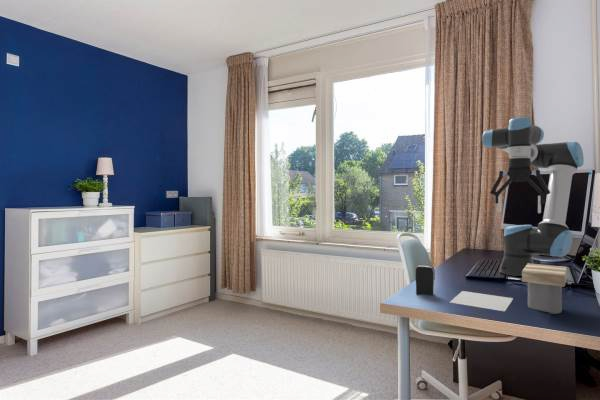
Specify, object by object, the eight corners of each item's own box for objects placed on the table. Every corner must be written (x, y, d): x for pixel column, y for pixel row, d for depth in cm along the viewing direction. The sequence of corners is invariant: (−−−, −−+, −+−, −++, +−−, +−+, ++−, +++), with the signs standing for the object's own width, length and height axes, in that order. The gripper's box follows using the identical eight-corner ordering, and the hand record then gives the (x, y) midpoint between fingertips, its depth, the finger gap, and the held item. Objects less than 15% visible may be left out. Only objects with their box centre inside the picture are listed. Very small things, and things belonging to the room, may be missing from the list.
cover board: (527, 272, 145) (527, 263, 145) (566, 276, 138) (566, 266, 138) (521, 281, 132) (521, 271, 132) (564, 286, 125) (564, 275, 125)
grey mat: (462, 292, 155) (462, 290, 155) (513, 299, 145) (513, 298, 145) (449, 303, 141) (449, 302, 141) (504, 313, 130) (504, 311, 130)
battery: (435, 294, 153) (435, 265, 152) (433, 297, 150) (433, 267, 149) (417, 292, 157) (417, 264, 156) (415, 294, 153) (415, 265, 153)
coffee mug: (564, 315, 127) (564, 284, 127) (529, 311, 132) (529, 282, 131) (557, 303, 140) (557, 276, 139) (525, 300, 144) (525, 273, 143)
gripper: (482, 159, 157) (482, 212, 157) (557, 155, 142) (556, 214, 142) (486, 159, 163) (486, 210, 163) (558, 156, 148) (557, 212, 149)
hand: (519, 212), depth 153 cm, fingers open, 13 cm apart
